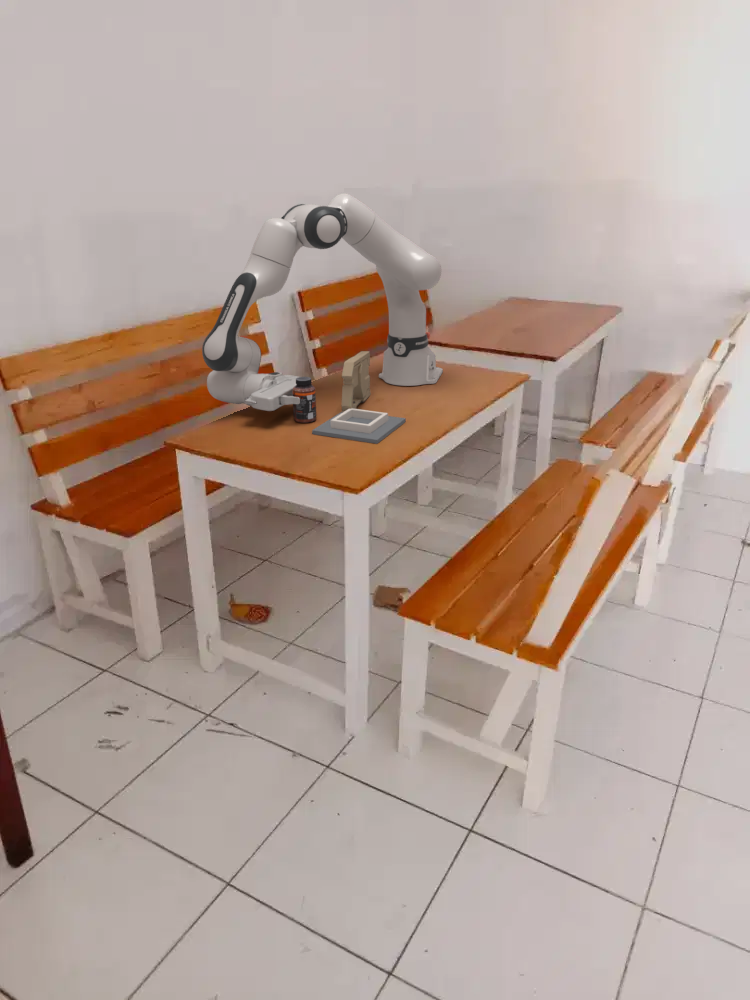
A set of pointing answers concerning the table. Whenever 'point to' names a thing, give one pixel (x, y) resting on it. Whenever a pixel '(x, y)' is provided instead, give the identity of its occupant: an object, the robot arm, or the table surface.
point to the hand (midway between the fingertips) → (307, 396)
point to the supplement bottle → (305, 400)
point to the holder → (360, 425)
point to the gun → (356, 380)
